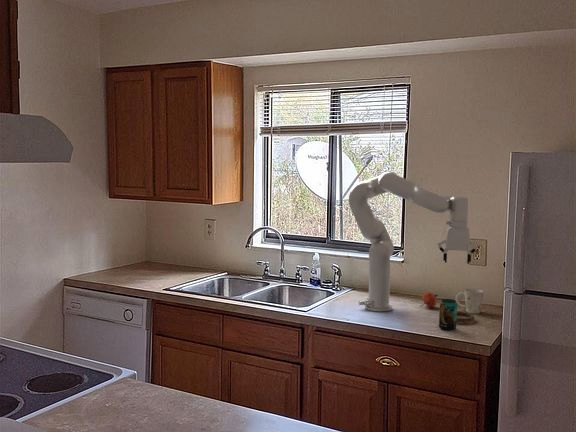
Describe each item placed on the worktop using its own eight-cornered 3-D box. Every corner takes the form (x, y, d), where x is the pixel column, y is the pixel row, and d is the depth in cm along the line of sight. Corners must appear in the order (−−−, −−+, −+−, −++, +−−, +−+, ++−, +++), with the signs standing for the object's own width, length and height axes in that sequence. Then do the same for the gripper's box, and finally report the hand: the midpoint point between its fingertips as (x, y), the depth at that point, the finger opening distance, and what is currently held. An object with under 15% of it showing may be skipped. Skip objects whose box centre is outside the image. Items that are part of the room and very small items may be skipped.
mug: (479, 315, 286) (480, 293, 285) (452, 311, 293) (453, 289, 292) (484, 311, 293) (485, 290, 292) (457, 307, 300) (458, 286, 299)
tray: (453, 325, 268) (454, 319, 268) (435, 317, 281) (435, 311, 281) (481, 323, 273) (481, 317, 272) (462, 314, 286) (462, 309, 286)
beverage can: (435, 328, 263) (436, 300, 262) (444, 325, 268) (445, 297, 266) (450, 332, 258) (451, 303, 257) (459, 329, 263) (460, 300, 261)
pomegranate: (422, 313, 296) (440, 302, 293) (413, 300, 298) (431, 289, 294) (425, 311, 303) (443, 301, 299) (417, 298, 304) (434, 287, 301)
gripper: (438, 224, 278) (436, 263, 280) (479, 226, 274) (477, 265, 276) (438, 222, 285) (436, 260, 287) (478, 224, 281) (476, 262, 283)
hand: (456, 262), depth 281 cm, fingers open, 9 cm apart
